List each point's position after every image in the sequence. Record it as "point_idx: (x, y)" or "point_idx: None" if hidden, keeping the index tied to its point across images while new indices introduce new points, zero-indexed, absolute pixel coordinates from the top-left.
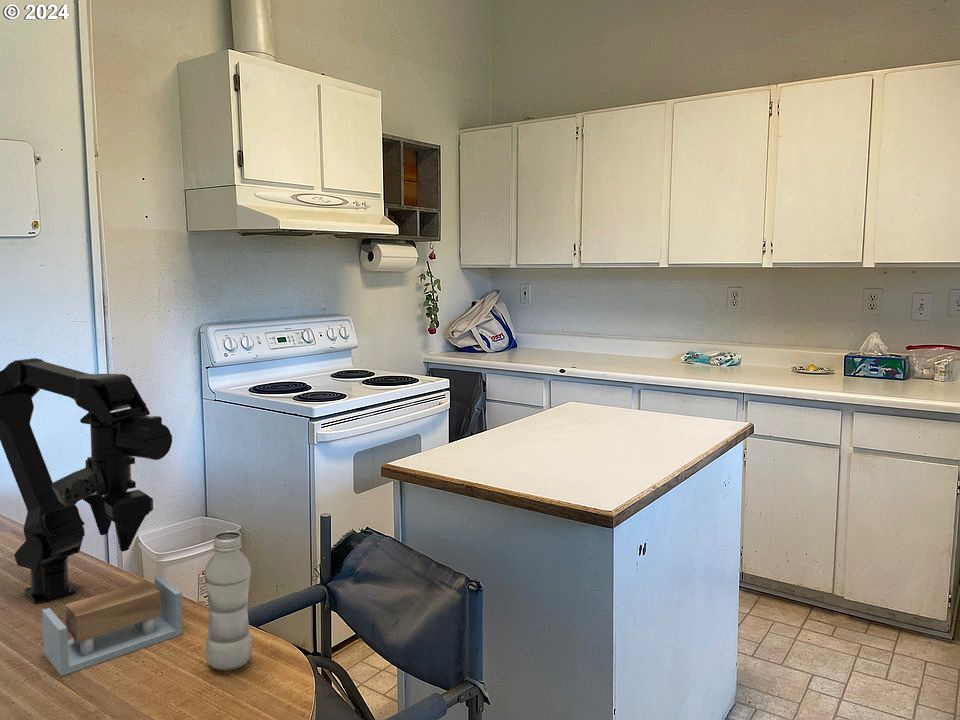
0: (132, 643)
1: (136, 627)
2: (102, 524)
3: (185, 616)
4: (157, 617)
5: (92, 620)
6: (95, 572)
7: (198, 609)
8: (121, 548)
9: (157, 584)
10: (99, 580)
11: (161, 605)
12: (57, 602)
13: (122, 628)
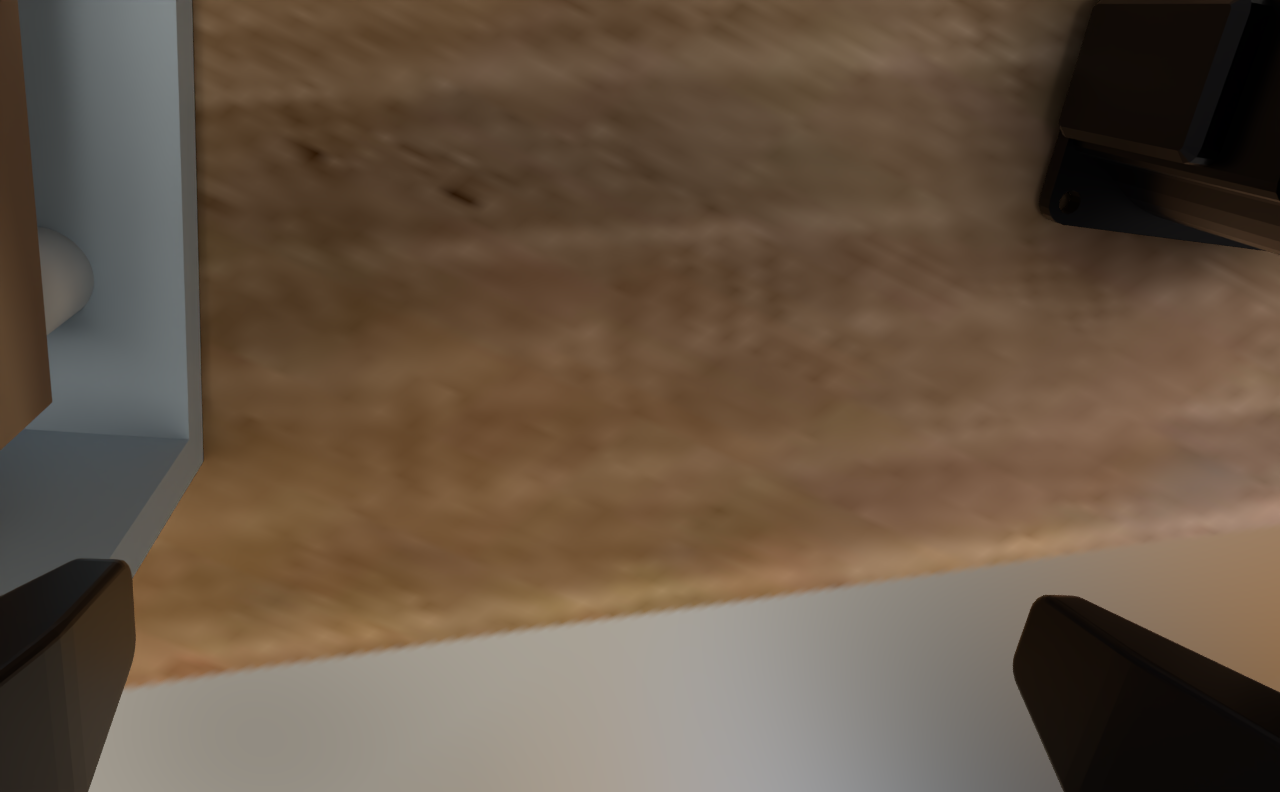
0: None
1: None
2: (1144, 739)
3: None
4: (80, 411)
5: None
6: (1201, 447)
7: None
8: (27, 586)
9: (8, 581)
10: (1074, 413)
11: (4, 480)
12: (1017, 46)
13: (68, 133)
